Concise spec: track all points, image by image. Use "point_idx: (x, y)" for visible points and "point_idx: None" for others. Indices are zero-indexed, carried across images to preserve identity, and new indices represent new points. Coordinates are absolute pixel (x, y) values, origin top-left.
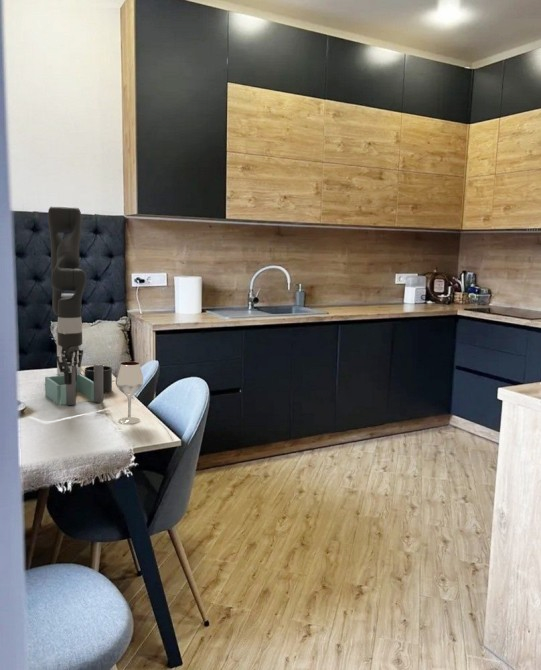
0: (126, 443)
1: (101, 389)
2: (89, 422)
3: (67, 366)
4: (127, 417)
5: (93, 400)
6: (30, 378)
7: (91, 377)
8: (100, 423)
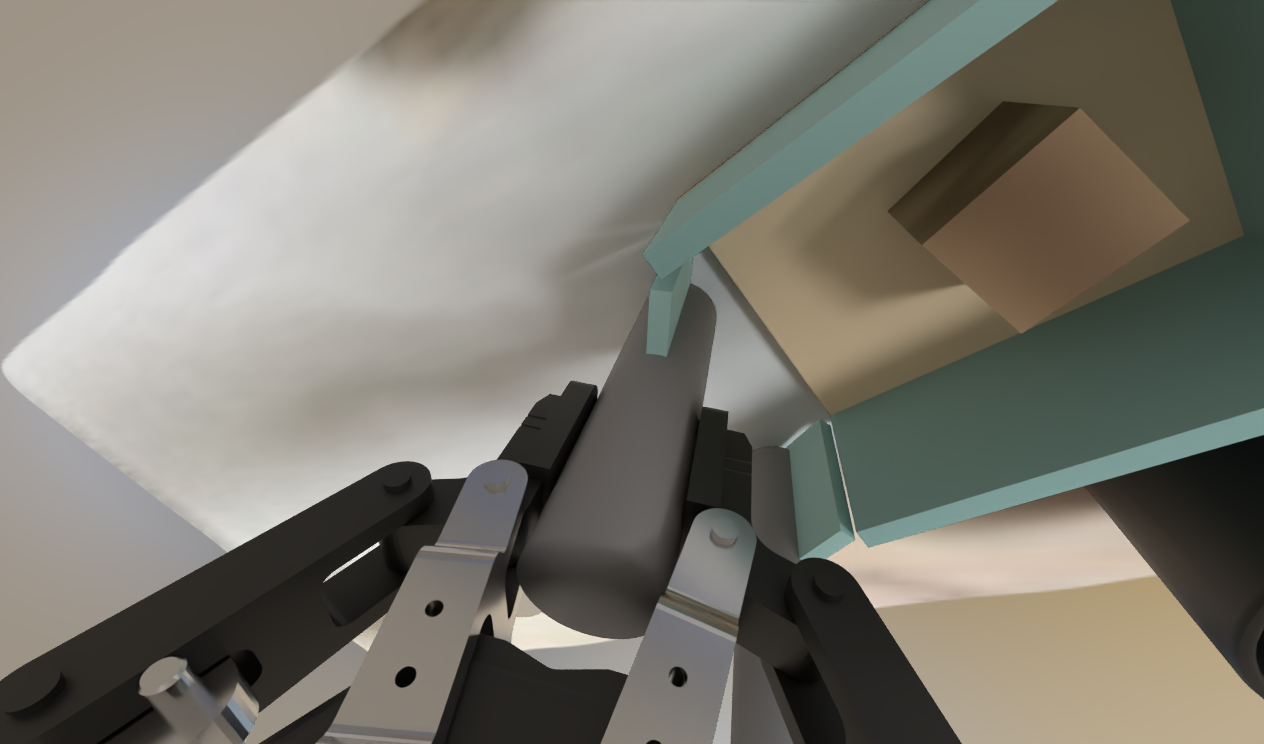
0: None
1: None
2: (428, 463)
3: (361, 617)
4: None
5: (799, 438)
6: None
7: (1212, 498)
8: None
